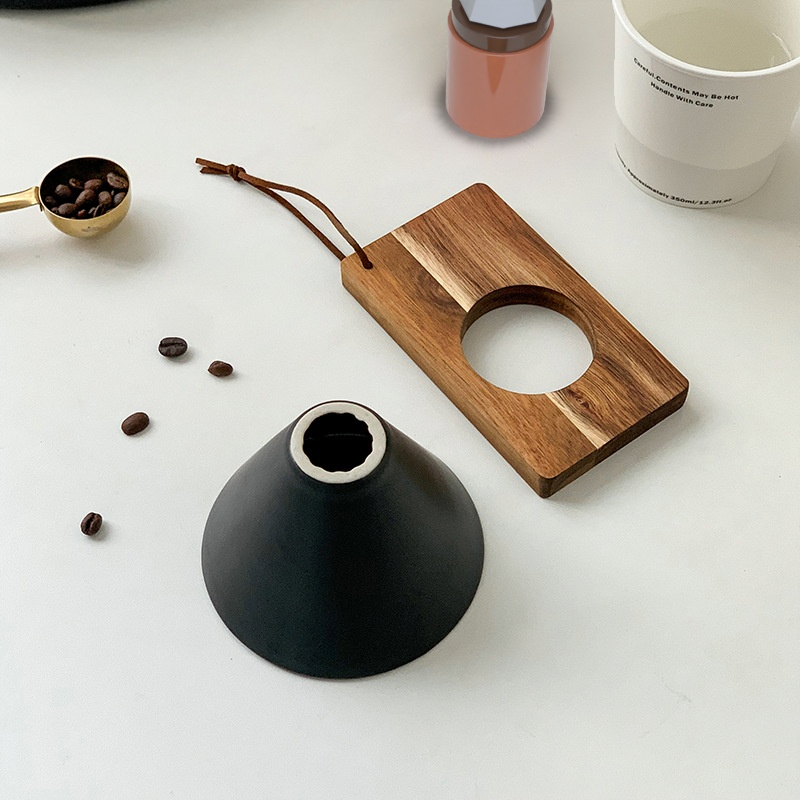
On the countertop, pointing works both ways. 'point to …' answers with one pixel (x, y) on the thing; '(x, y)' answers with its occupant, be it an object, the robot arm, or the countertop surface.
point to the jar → (497, 73)
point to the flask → (503, 11)
